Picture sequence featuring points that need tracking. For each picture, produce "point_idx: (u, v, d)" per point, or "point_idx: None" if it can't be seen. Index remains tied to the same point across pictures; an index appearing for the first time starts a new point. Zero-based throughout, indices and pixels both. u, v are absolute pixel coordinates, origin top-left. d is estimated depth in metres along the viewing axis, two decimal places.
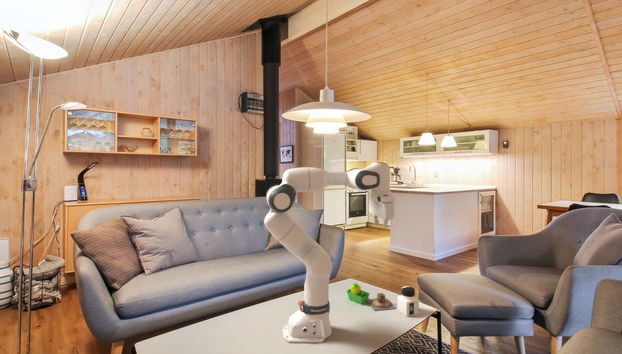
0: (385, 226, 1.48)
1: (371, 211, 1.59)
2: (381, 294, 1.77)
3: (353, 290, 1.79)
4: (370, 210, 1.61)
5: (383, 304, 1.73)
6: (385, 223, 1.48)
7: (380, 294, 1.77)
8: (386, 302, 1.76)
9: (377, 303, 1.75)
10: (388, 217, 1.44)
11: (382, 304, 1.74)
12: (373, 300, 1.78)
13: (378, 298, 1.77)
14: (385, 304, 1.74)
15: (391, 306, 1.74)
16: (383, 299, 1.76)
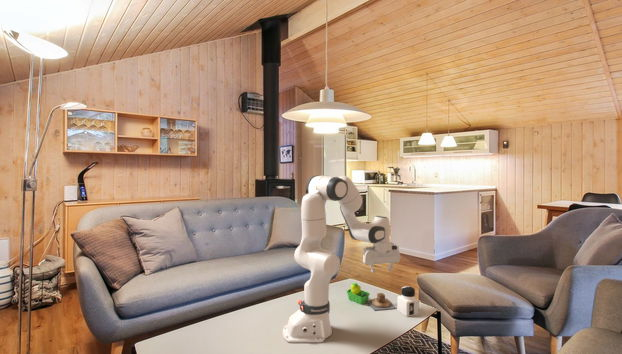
0: None
1: (371, 262, 1.73)
2: (381, 294, 1.77)
3: (353, 290, 1.79)
4: (369, 261, 1.73)
5: (383, 304, 1.73)
6: None
7: (380, 294, 1.77)
8: (386, 302, 1.76)
9: (377, 303, 1.75)
10: None
11: (382, 304, 1.74)
12: (373, 300, 1.78)
13: (378, 298, 1.77)
14: (385, 304, 1.74)
15: (391, 306, 1.74)
16: (383, 299, 1.76)
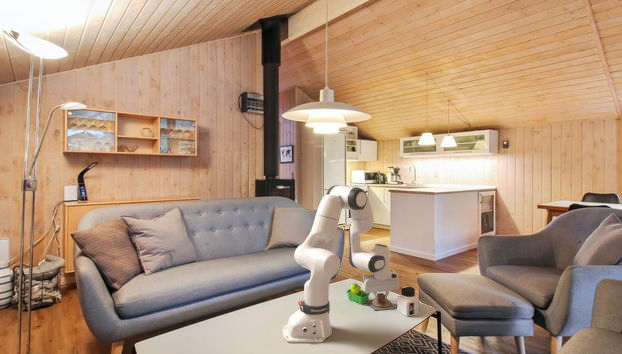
0: None
1: (371, 290, 1.74)
2: (381, 294, 1.77)
3: (353, 290, 1.79)
4: (368, 290, 1.74)
5: (383, 304, 1.73)
6: None
7: (380, 294, 1.77)
8: (386, 302, 1.76)
9: (377, 303, 1.75)
10: None
11: (382, 304, 1.74)
12: (373, 300, 1.78)
13: None
14: (385, 304, 1.74)
15: (391, 306, 1.74)
16: (383, 299, 1.76)
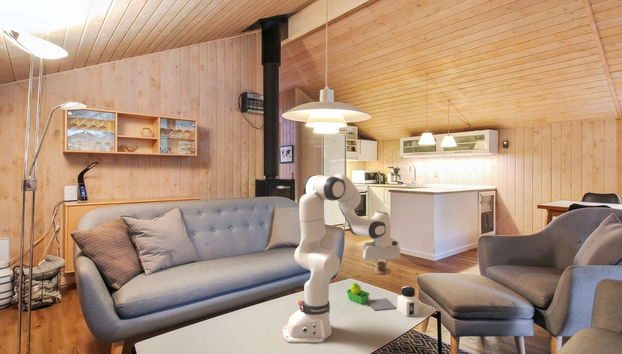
0: None
1: (371, 257, 1.73)
2: (381, 262, 1.76)
3: (353, 290, 1.79)
4: (369, 257, 1.73)
5: (384, 272, 1.72)
6: None
7: (380, 262, 1.76)
8: (386, 270, 1.75)
9: (377, 271, 1.74)
10: None
11: (383, 271, 1.73)
12: (373, 268, 1.77)
13: None
14: (385, 271, 1.73)
15: (391, 306, 1.74)
16: (383, 267, 1.75)
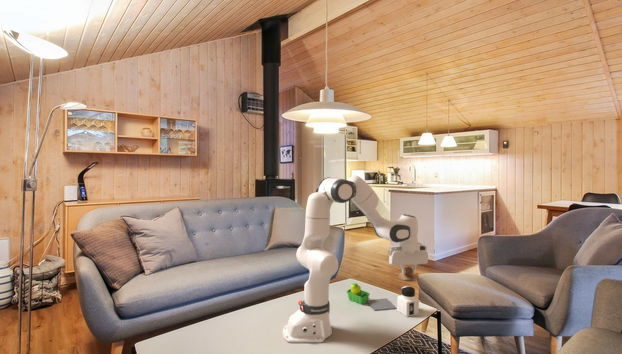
0: None
1: (398, 263, 1.64)
2: (408, 267, 1.67)
3: (353, 290, 1.79)
4: (396, 263, 1.64)
5: (411, 278, 1.64)
6: None
7: (407, 268, 1.67)
8: (414, 276, 1.67)
9: (404, 277, 1.65)
10: None
11: (410, 278, 1.64)
12: (399, 274, 1.69)
13: None
14: (413, 278, 1.64)
15: (391, 306, 1.74)
16: (411, 273, 1.66)
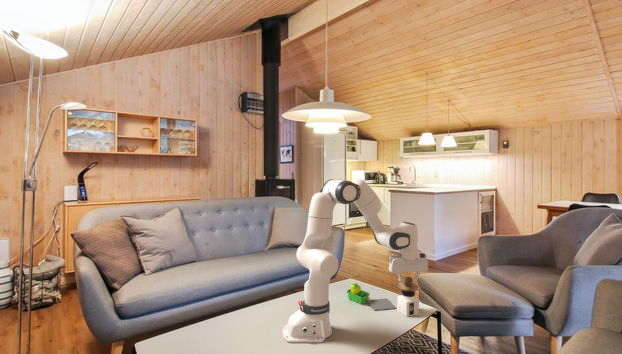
0: None
1: (398, 270, 1.64)
2: (408, 277, 1.67)
3: (353, 290, 1.79)
4: (396, 270, 1.64)
5: (411, 288, 1.64)
6: None
7: (407, 277, 1.67)
8: (413, 286, 1.67)
9: (404, 287, 1.66)
10: None
11: (410, 288, 1.64)
12: (399, 284, 1.69)
13: (405, 281, 1.67)
14: (413, 288, 1.64)
15: (391, 306, 1.74)
16: (410, 282, 1.66)
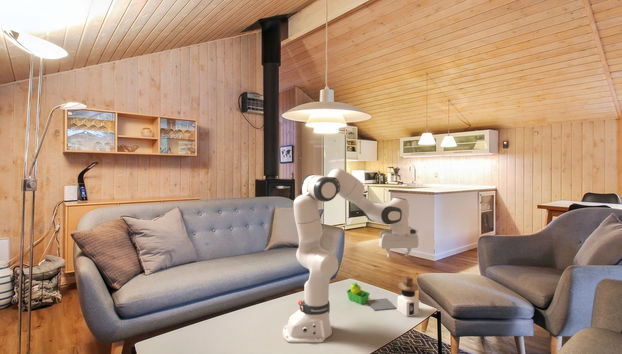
0: None
1: (388, 246, 1.63)
2: (408, 277, 1.67)
3: (353, 290, 1.79)
4: (385, 245, 1.63)
5: (411, 288, 1.64)
6: None
7: (407, 277, 1.67)
8: (413, 286, 1.67)
9: (404, 287, 1.66)
10: None
11: (410, 288, 1.64)
12: (399, 284, 1.69)
13: (405, 281, 1.67)
14: (413, 288, 1.64)
15: (391, 306, 1.74)
16: (410, 282, 1.66)
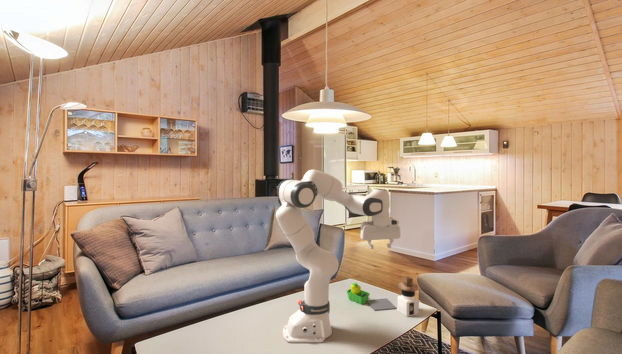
0: None
1: (369, 237, 1.61)
2: (408, 277, 1.67)
3: (353, 290, 1.79)
4: (367, 237, 1.61)
5: (411, 288, 1.64)
6: None
7: (407, 277, 1.67)
8: (413, 286, 1.67)
9: (404, 287, 1.66)
10: None
11: (410, 288, 1.64)
12: (399, 284, 1.69)
13: (405, 281, 1.67)
14: (413, 288, 1.64)
15: (391, 306, 1.74)
16: (410, 282, 1.66)
